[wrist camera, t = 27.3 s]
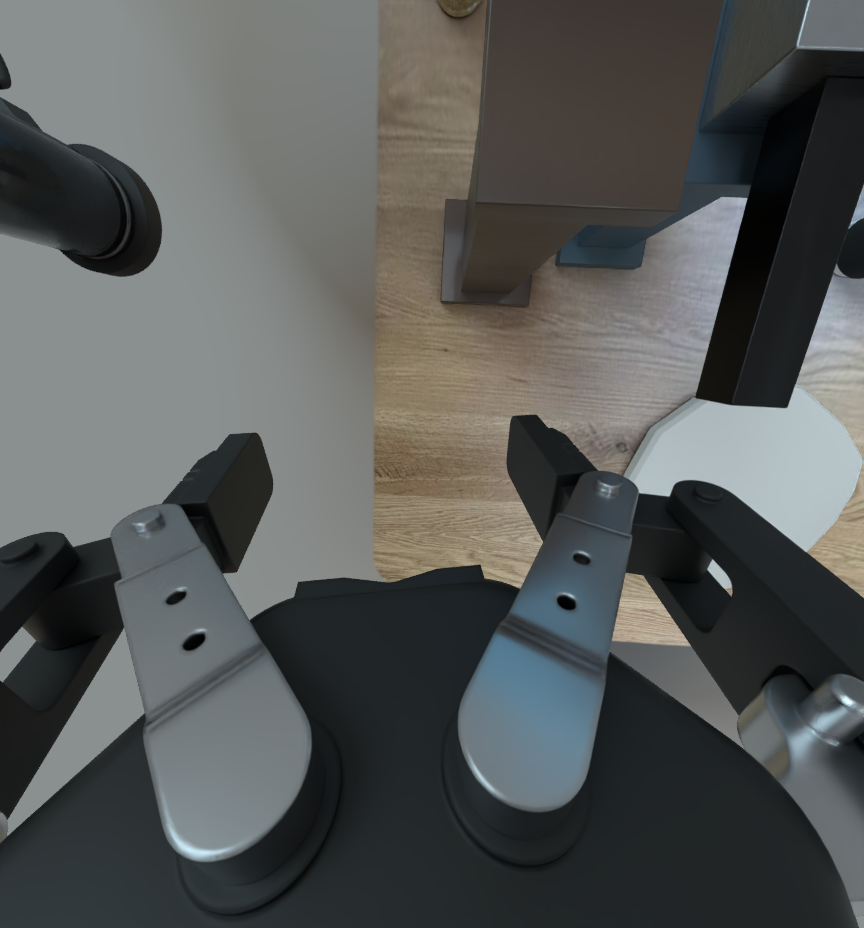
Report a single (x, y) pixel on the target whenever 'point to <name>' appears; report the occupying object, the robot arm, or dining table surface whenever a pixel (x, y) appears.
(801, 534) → the decorative plate
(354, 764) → the robot arm
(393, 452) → the dining table surface
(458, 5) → the sprinkles bottle
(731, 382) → the mallet
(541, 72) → the tall stand
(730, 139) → the low stand
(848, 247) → the dixie cup
